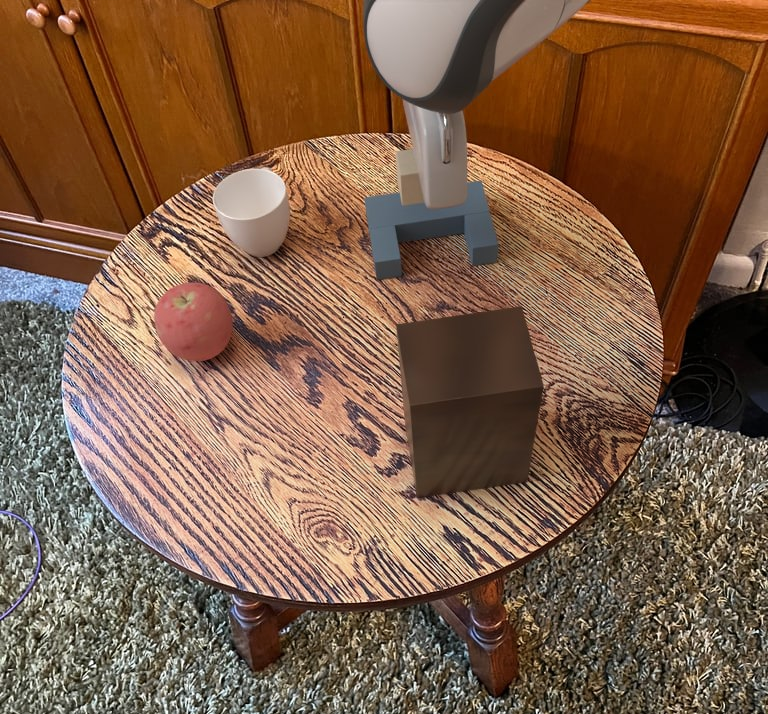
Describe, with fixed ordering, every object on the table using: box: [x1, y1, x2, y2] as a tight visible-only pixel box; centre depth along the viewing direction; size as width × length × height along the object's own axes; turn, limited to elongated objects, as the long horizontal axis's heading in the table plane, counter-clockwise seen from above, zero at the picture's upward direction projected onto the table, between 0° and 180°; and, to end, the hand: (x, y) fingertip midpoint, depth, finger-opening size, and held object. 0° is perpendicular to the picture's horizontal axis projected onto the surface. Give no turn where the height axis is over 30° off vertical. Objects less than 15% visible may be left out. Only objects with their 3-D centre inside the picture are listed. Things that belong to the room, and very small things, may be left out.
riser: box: [395, 305, 545, 499], centre depth 65 cm, size 10×8×14 cm
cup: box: [212, 166, 291, 258], centre depth 83 cm, size 8×10×7 cm
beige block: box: [395, 148, 425, 206], centre depth 74 cm, size 6×4×4 cm, turn 97°
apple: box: [153, 282, 234, 362], centre depth 76 cm, size 7×7×8 cm
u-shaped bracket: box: [363, 179, 500, 281], centre depth 83 cm, size 13×10×2 cm
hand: (430, 181), depth 75 cm, fingers closed on beige block, 3 cm apart
